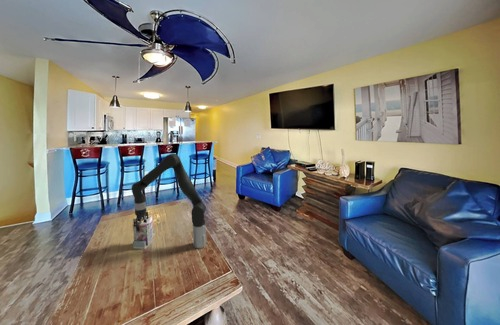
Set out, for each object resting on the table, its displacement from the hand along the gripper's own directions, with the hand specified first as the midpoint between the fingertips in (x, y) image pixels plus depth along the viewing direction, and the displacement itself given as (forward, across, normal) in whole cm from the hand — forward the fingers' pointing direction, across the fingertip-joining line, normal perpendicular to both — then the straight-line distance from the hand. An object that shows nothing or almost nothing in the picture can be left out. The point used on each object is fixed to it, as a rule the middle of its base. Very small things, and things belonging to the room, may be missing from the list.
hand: (141, 228), depth 143 cm
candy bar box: (+13, 0, 0) cm, 13 cm away
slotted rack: (+14, 0, 0) cm, 14 cm away
